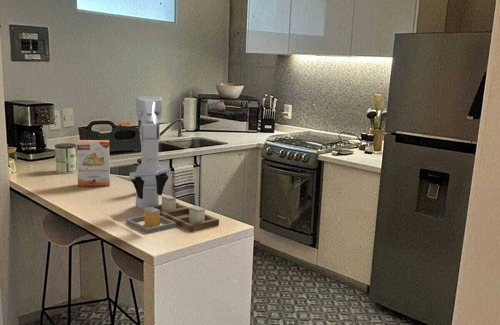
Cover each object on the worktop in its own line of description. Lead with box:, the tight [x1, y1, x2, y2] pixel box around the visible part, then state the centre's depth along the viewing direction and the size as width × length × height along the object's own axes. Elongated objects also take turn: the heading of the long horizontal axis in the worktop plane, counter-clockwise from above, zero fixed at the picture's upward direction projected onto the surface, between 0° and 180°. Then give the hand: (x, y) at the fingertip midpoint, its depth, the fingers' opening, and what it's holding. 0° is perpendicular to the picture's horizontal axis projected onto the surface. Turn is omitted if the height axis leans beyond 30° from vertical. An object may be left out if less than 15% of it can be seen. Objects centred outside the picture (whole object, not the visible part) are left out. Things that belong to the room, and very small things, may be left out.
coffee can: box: [54, 142, 78, 175], centre depth 247 cm, size 10×10×14 cm
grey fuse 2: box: [188, 205, 206, 224], centre depth 168 cm, size 5×3×6 cm, turn 42°
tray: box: [125, 214, 177, 234], centre depth 167 cm, size 14×12×2 cm
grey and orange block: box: [144, 207, 161, 228], centre depth 166 cm, size 5×3×6 cm, turn 42°
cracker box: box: [76, 139, 111, 188], centre depth 220 cm, size 14×6×21 cm, turn 105°
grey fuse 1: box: [161, 194, 177, 212], centre depth 181 cm, size 5×3×6 cm, turn 42°
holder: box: [149, 201, 220, 232], centre depth 175 cm, size 28×12×3 cm, turn 42°
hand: (149, 196), depth 167 cm, fingers open, 7 cm apart
